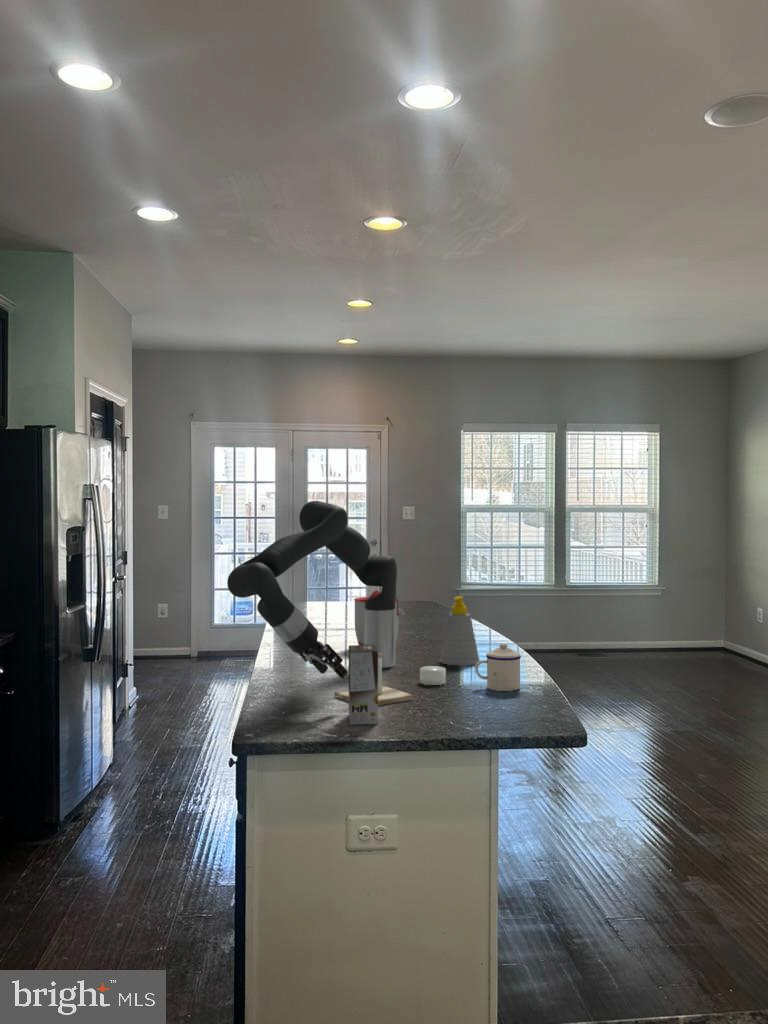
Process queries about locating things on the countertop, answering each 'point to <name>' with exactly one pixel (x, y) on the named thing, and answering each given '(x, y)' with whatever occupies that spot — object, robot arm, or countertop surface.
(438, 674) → the white domed cylinder
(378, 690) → the jar
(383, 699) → the board
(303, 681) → the countertop surface
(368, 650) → the coffee box
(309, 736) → the countertop surface
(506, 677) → the teacup with lid
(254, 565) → the robot arm
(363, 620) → the citrus juicer
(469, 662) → the soap bottle
